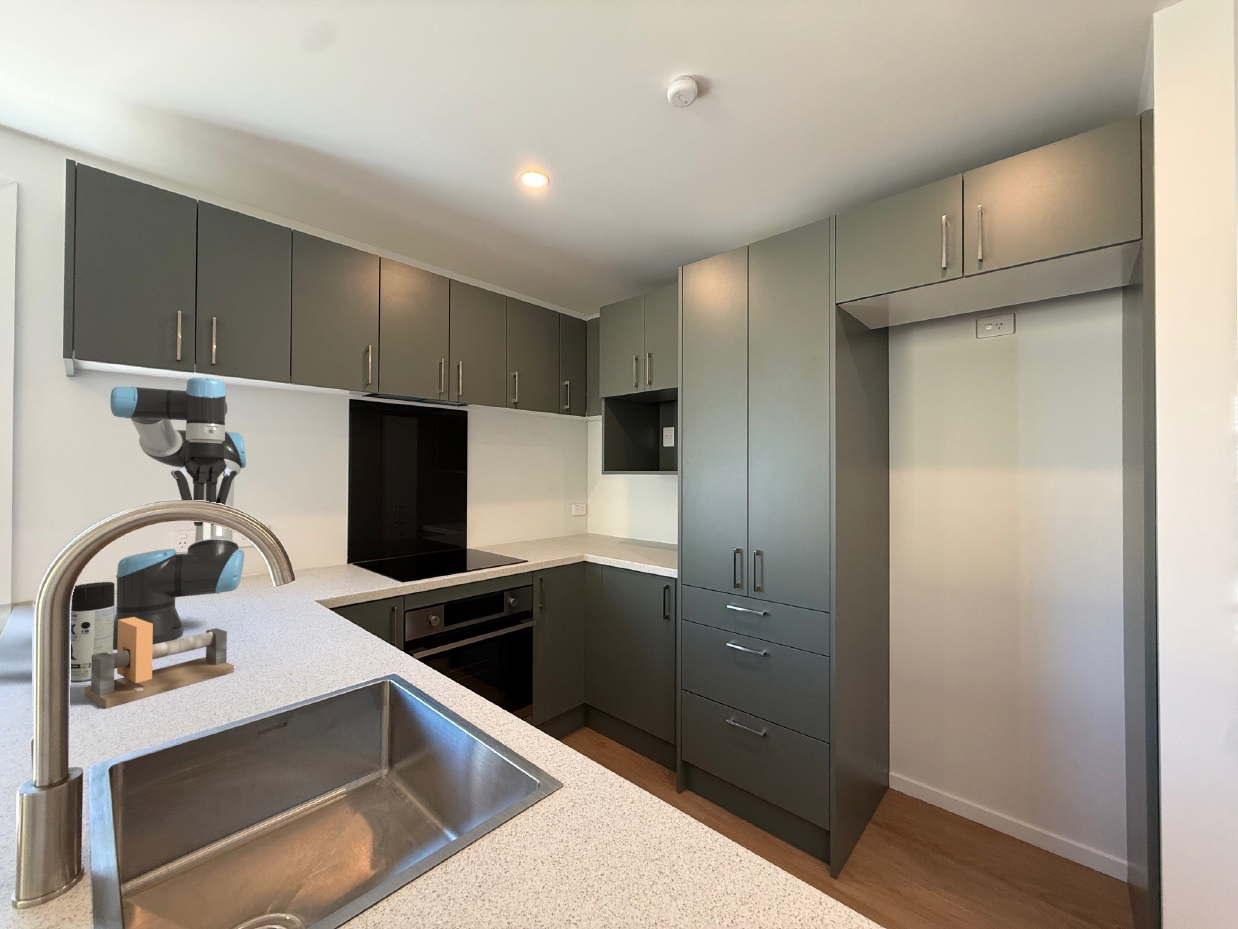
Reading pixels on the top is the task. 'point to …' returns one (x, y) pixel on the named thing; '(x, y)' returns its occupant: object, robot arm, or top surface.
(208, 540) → the robot arm
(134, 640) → the collar
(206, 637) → the pipe stand
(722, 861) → the top surface
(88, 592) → the spray can
